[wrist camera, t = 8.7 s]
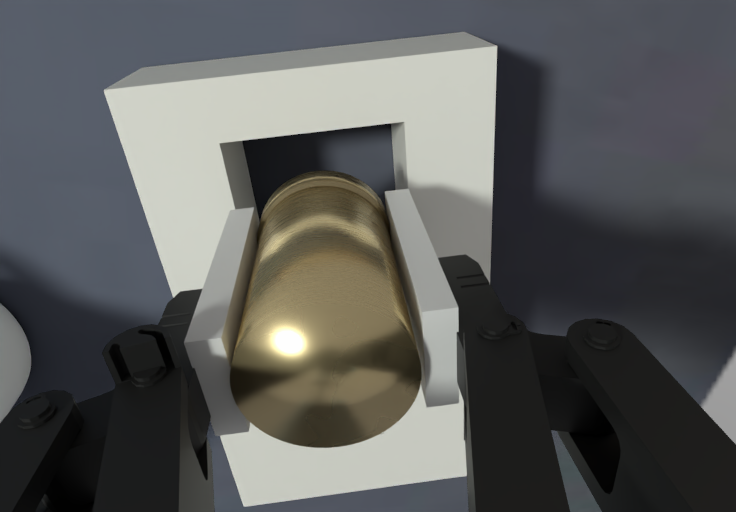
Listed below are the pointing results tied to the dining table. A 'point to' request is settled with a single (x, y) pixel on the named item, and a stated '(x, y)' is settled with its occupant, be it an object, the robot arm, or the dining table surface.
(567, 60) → the dining table surface
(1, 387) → the mug
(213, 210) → the block
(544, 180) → the dining table surface
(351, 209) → the cylinder
